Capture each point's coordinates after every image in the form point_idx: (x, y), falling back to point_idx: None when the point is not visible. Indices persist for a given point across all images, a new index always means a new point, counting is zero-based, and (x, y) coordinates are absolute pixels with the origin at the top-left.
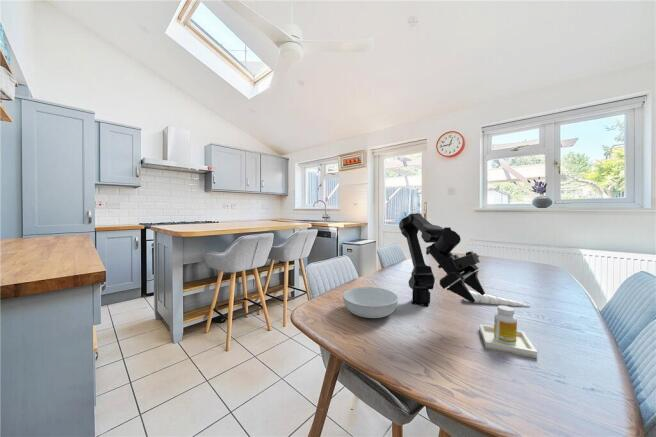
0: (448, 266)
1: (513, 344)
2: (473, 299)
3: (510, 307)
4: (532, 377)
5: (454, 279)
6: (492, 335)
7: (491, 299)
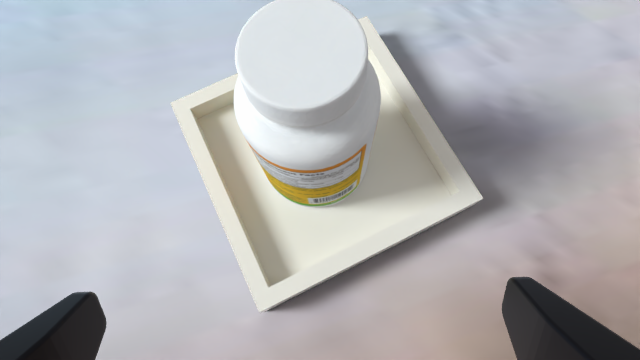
0: None
1: None
2: (546, 291)
3: (251, 27)
4: (533, 19)
5: None
6: (312, 220)
7: None
